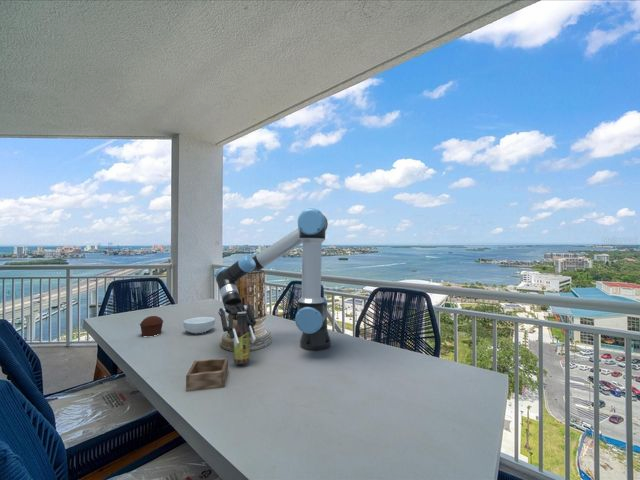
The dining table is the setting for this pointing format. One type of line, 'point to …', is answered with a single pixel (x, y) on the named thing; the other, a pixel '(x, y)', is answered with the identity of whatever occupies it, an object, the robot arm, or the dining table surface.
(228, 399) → the dining table surface
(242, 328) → the sauce bottle
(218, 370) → the wooden open tray
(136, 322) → the dining table surface
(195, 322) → the cereal bowl
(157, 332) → the muffin
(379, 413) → the dining table surface
